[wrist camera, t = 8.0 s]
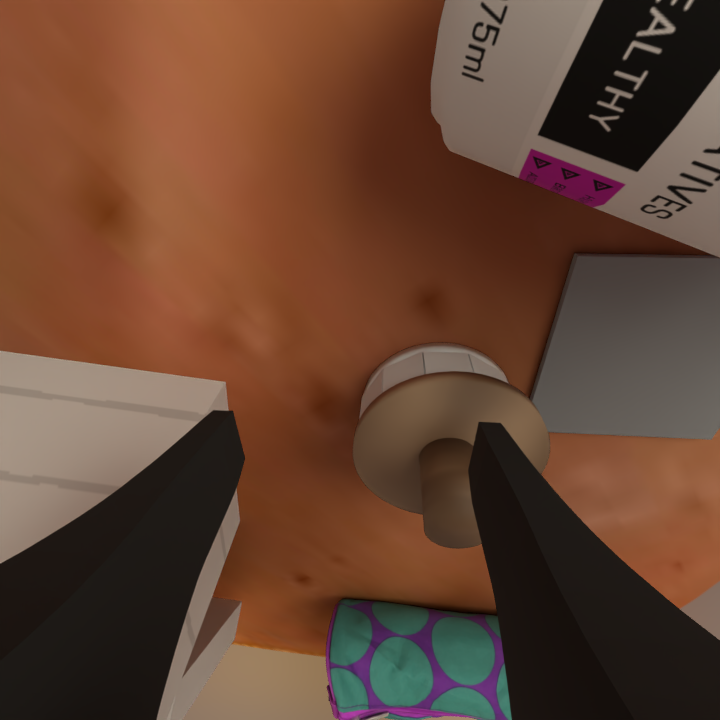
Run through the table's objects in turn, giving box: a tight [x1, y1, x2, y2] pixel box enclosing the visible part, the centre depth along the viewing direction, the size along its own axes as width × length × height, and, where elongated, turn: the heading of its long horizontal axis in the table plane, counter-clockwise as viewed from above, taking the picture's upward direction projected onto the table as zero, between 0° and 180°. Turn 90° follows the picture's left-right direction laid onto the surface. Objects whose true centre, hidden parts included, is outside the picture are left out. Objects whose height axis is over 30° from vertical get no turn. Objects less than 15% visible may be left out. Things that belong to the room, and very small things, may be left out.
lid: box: [353, 371, 550, 548], centre depth 19 cm, size 10×10×5 cm
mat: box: [530, 253, 720, 439], centre depth 20 cm, size 11×11×1 cm
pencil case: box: [326, 599, 512, 720], centre depth 35 cm, size 21×9×10 cm, turn 89°
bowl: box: [359, 342, 509, 419], centre depth 22 cm, size 9×9×4 cm
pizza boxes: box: [0, 351, 242, 720], centre depth 23 cm, size 19×30×18 cm, turn 173°
